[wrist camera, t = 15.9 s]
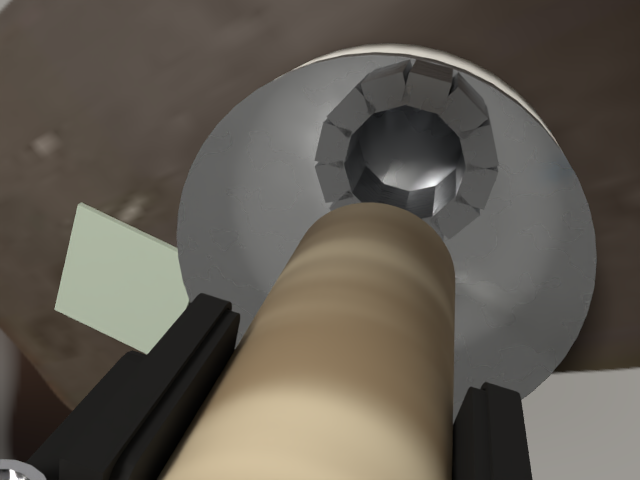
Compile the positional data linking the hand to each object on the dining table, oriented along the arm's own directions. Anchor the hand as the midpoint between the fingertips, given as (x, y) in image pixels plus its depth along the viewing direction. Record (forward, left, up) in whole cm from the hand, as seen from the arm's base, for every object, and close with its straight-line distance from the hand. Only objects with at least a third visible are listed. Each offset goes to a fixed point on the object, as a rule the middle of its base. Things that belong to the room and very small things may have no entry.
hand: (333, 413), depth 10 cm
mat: (+13, +19, -24) cm, 33 cm away
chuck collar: (-1, +7, -20) cm, 21 cm away
